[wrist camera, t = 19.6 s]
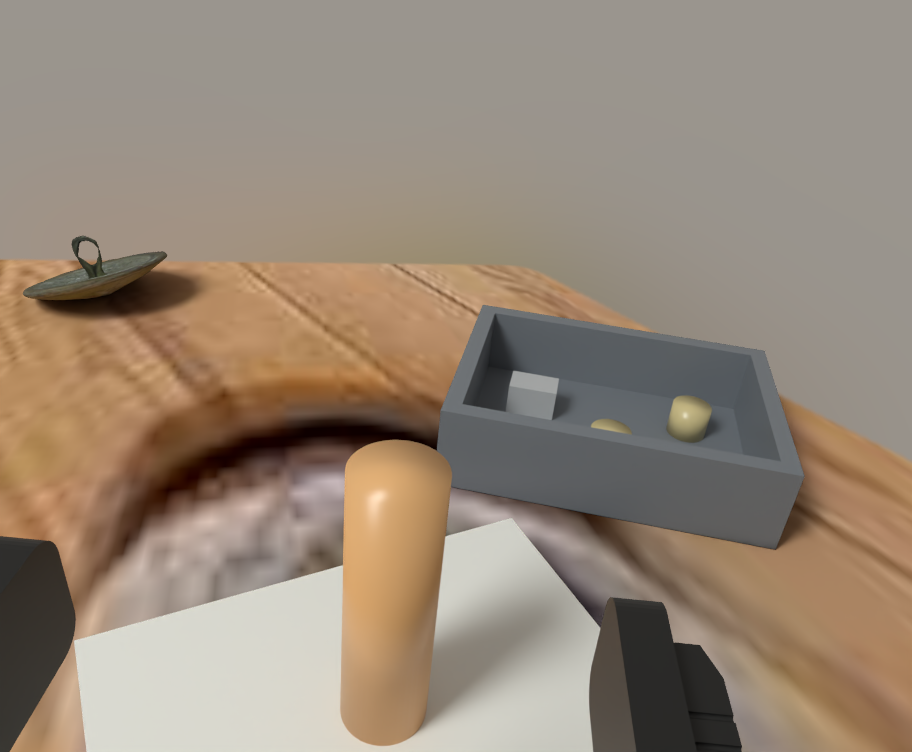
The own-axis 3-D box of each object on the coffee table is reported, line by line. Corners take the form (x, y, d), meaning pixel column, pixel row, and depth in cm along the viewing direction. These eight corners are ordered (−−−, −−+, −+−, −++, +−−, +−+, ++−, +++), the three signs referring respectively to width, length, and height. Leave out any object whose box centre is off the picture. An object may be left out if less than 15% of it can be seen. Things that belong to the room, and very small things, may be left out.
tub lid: (504, 559, 40) (544, 320, 33) (701, 822, 29) (823, 547, 22) (85, 687, 32) (18, 402, 25) (137, 1129, 21) (44, 839, 14)
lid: (85, 343, 55) (73, 277, 52) (-5, 303, 58) (-20, 240, 56) (197, 294, 63) (192, 235, 60) (112, 262, 67) (104, 206, 64)
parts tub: (743, 413, 54) (764, 350, 52) (775, 549, 42) (804, 476, 40) (475, 367, 56) (482, 304, 54) (434, 483, 44) (440, 410, 42)
